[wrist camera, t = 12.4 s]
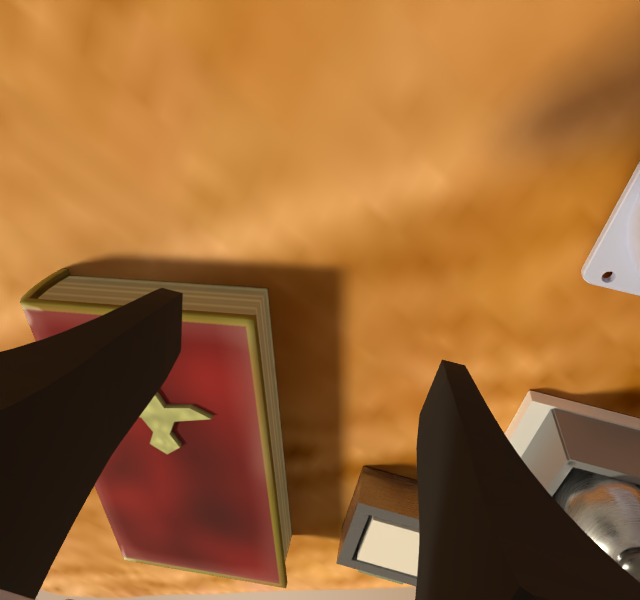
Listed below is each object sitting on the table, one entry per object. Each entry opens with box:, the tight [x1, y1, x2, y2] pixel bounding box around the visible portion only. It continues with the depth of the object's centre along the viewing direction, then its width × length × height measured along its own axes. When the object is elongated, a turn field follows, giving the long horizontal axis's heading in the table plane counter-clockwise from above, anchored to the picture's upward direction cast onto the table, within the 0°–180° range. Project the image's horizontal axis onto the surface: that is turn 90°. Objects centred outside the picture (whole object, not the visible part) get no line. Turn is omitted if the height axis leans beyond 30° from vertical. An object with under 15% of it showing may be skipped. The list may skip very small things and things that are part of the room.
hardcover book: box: [20, 269, 292, 588], centre depth 29 cm, size 12×21×4 cm, turn 2°
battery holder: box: [505, 390, 640, 501], centre depth 25 cm, size 7×11×4 cm, turn 169°
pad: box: [357, 515, 419, 576], centre depth 29 cm, size 4×4×1 cm
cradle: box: [337, 466, 419, 586], centre depth 30 cm, size 6×8×3 cm
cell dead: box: [553, 467, 640, 582], centre depth 22 cm, size 4×4×6 cm
